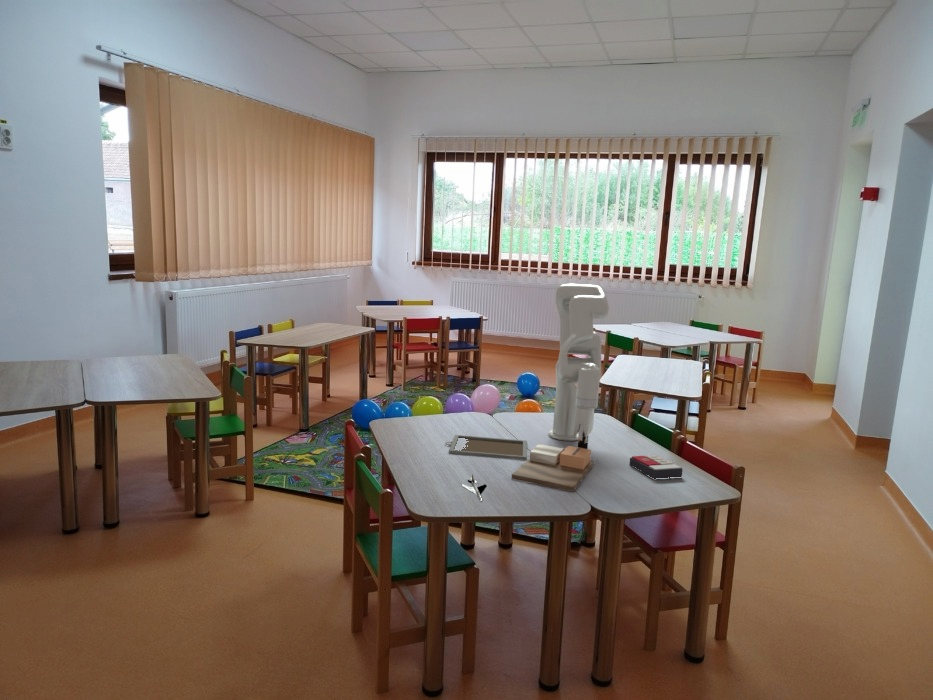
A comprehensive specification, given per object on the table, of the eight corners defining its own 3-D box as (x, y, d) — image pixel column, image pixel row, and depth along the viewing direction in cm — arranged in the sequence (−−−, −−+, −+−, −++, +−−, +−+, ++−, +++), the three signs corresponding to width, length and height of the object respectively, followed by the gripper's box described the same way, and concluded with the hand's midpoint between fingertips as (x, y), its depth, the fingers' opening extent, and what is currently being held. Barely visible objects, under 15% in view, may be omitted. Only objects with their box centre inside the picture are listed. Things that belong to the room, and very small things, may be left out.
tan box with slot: (567, 456, 219) (568, 445, 218) (590, 461, 215) (591, 449, 215) (559, 465, 210) (560, 453, 209) (583, 469, 206) (584, 457, 206)
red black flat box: (656, 453, 223) (683, 466, 208) (655, 465, 223) (682, 479, 209) (629, 455, 219) (654, 468, 205) (628, 467, 220) (653, 481, 206)
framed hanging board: (527, 457, 218) (441, 449, 221) (526, 461, 218) (441, 454, 221) (527, 440, 237) (448, 434, 240) (526, 444, 237) (448, 438, 240)
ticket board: (538, 454, 225) (539, 442, 224) (594, 464, 217) (595, 452, 216) (511, 478, 200) (512, 465, 199) (573, 491, 192) (574, 477, 191)
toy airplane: (468, 503, 180) (469, 495, 179) (457, 476, 200) (457, 469, 200) (494, 503, 181) (495, 495, 181) (481, 476, 202) (481, 469, 201)
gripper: (581, 396, 226) (576, 445, 229) (570, 405, 212) (565, 457, 215) (601, 399, 223) (597, 449, 226) (592, 408, 209) (587, 461, 212)
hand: (581, 453), depth 220 cm, fingers closed
